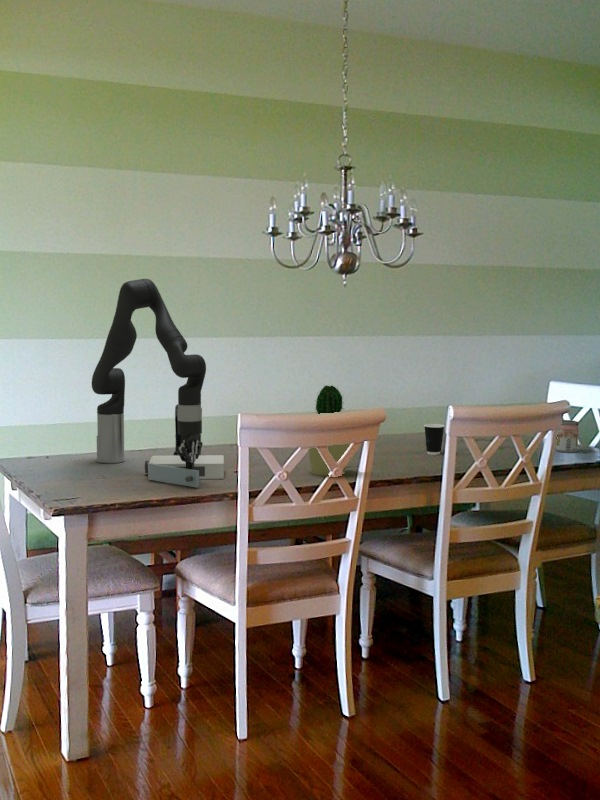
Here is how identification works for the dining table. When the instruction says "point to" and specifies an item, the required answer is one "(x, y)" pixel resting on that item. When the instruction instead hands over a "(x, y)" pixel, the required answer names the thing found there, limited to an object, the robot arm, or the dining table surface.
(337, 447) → the potted cactus
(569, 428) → the house shaped jar
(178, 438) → the vintage camera
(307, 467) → the dining table surface
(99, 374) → the robot arm
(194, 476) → the side door
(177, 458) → the white flat box
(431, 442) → the dixie cup
